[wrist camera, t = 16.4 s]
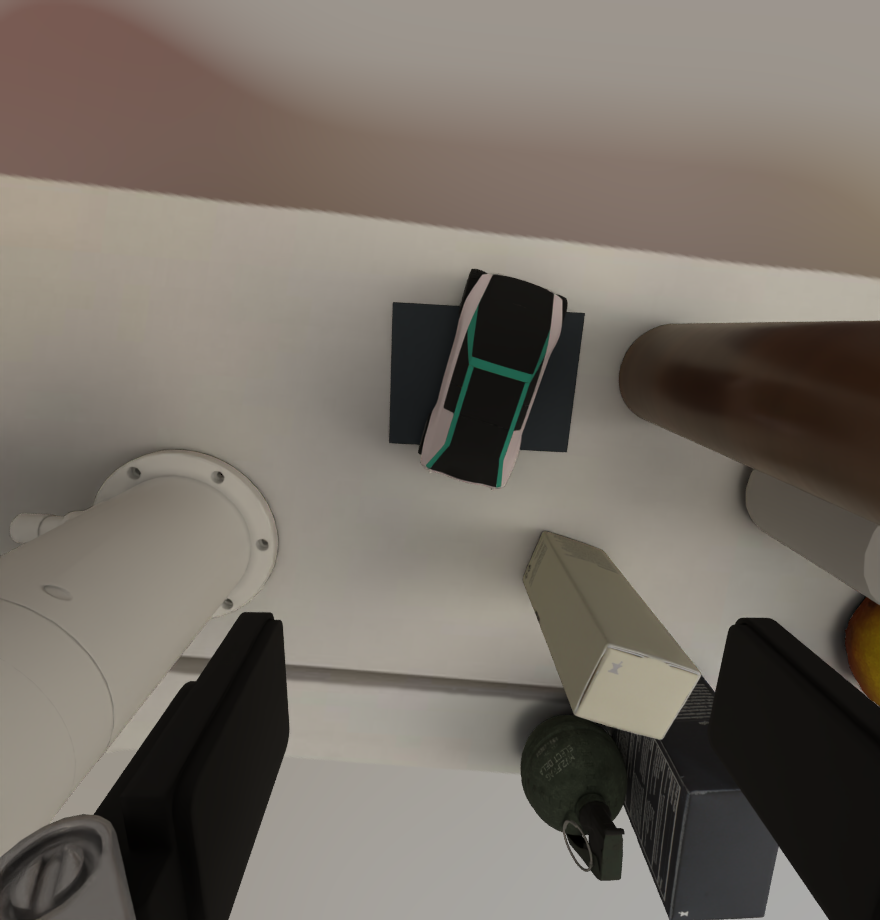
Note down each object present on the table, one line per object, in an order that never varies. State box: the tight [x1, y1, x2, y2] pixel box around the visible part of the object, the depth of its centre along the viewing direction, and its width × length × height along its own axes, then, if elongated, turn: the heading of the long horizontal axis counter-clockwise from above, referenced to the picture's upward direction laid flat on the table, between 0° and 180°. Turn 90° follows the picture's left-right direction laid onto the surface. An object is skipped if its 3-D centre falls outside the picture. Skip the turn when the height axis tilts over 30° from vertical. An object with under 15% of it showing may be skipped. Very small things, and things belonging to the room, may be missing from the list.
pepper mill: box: [619, 321, 880, 525], centre depth 17 cm, size 6×6×30 cm
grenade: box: [521, 715, 628, 881], centre depth 34 cm, size 8×8×10 cm
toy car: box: [418, 269, 568, 491], centre depth 28 cm, size 6×12×5 cm, turn 164°
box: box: [523, 531, 701, 740], centre depth 29 cm, size 5×4×13 cm
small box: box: [613, 675, 779, 920], centre depth 33 cm, size 11×6×10 cm, turn 2°
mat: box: [389, 302, 585, 452], centre depth 31 cm, size 12×9×1 cm
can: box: [746, 469, 880, 605], centre depth 27 cm, size 8×8×12 cm
